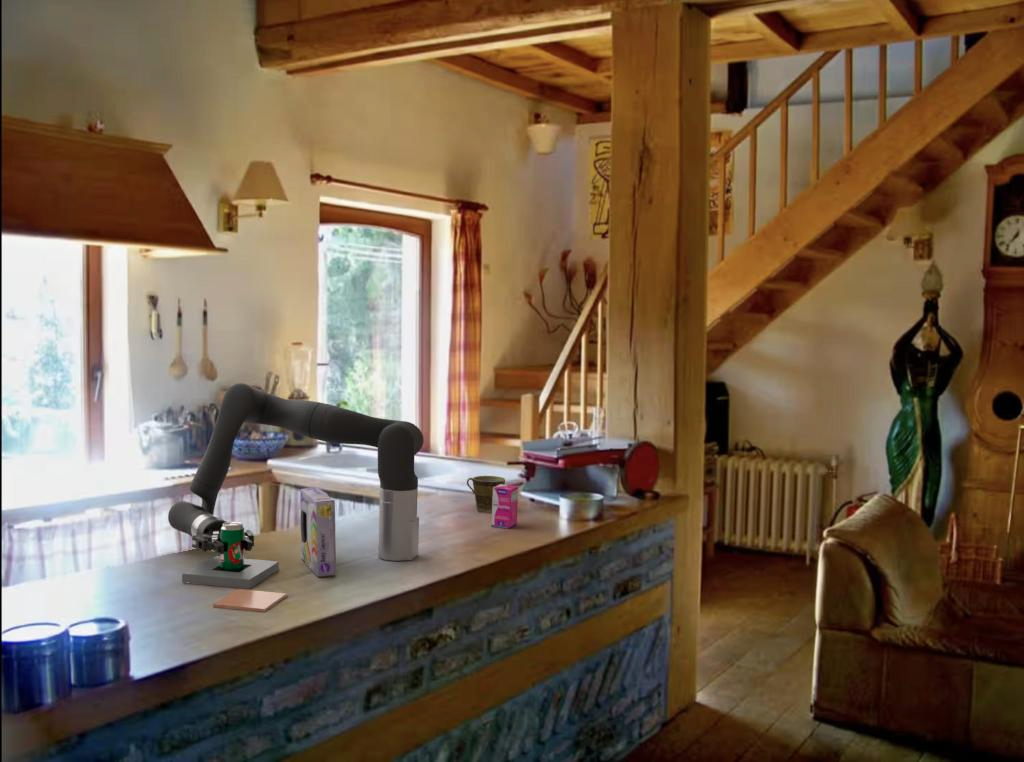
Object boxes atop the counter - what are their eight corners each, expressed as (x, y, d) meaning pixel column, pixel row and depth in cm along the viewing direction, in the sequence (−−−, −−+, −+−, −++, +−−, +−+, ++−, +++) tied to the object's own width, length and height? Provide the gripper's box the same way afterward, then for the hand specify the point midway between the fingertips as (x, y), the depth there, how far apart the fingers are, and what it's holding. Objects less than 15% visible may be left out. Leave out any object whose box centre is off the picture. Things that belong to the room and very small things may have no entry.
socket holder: (278, 570, 229) (278, 561, 228) (249, 588, 213) (249, 579, 213) (215, 564, 231) (215, 556, 231) (182, 582, 216) (182, 573, 216)
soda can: (222, 573, 225) (223, 520, 224) (245, 573, 225) (246, 521, 224) (217, 579, 220) (218, 525, 219) (241, 579, 220) (242, 526, 219)
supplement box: (490, 527, 281) (492, 487, 280) (498, 523, 286) (500, 483, 285) (509, 529, 279) (511, 489, 278) (517, 525, 284) (518, 485, 283)
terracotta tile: (286, 596, 209) (286, 593, 209) (264, 611, 198) (264, 609, 198) (237, 591, 211) (237, 588, 211) (213, 607, 200) (213, 604, 200)
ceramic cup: (510, 510, 304) (511, 478, 303) (492, 516, 295) (493, 482, 294) (475, 504, 310) (476, 473, 310) (456, 509, 302) (457, 477, 301)
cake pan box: (297, 557, 240) (299, 485, 239) (318, 556, 242) (320, 484, 241) (314, 579, 223) (316, 501, 221) (336, 577, 225) (338, 500, 223)
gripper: (181, 519, 229) (204, 534, 215) (241, 513, 237) (267, 528, 223) (180, 551, 230) (203, 568, 216) (241, 544, 238) (267, 560, 224)
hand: (236, 548), depth 220 cm, fingers open, 5 cm apart
